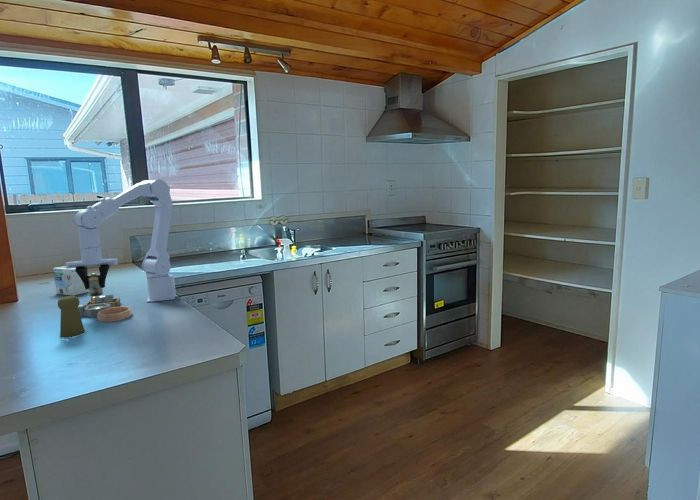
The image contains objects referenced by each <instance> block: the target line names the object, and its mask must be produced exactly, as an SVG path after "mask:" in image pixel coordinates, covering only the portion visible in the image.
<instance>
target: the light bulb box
mask: <svg viewBox="0 0 700 500" xmlns="http://www.w3.org/2000/svg"><path fill="white" fill-rule="evenodd" d="M75 270H76V268H70V269H66V265H63V266H57V267H53V270H52V271H53V277H54V287H55V294H58V295H65V296H78V295H83V294H85V293H89V289H85V286H84V284H83V282H82V280H81V278H80V277H79V275H78V274H77V273H76V271H75Z"/></svg>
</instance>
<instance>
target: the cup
mask: <svg viewBox="0 0 700 500" xmlns="http://www.w3.org/2000/svg"><path fill="white" fill-rule="evenodd" d="M132 314H133V313H132V307H130V306H124V305H123V306H119V307H112V308H108V309H104V310H101V311H99V312H98V313H97V321H98V322H103V323H110V322H118V321H122V320H125V319H129V318H131V316H132Z"/></svg>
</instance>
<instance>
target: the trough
mask: <svg viewBox="0 0 700 500" xmlns="http://www.w3.org/2000/svg"><path fill="white" fill-rule="evenodd" d="M114 300H115V302H109V303H106V304H111V308H112V307H120V305H121V298H120V297H117V298H115V297H114ZM100 304H102V303H100ZM83 305H84V306H85V307H87V306H90V305H94V304H90V300H88V301H87V302H86V303H85V304H83Z"/></svg>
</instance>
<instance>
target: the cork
mask: <svg viewBox="0 0 700 500" xmlns="http://www.w3.org/2000/svg"><path fill="white" fill-rule="evenodd" d="M79 305H80V298H78V297H77V295H74V296H71V295H66V296H64V297H61V298H59V299H58V301H57V307H58V309H59V310H60V323H59V324H60V326H59V327H60V328H59V330H60V331H59V333H60V334H59V335H60V336H59V337H60V338H64V339H65V338H73V337H78V336H82V335H84V334H85V333H86V330H85V327H84V325H83V320H82V317H80V313H79V310H78V306H79Z"/></svg>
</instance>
